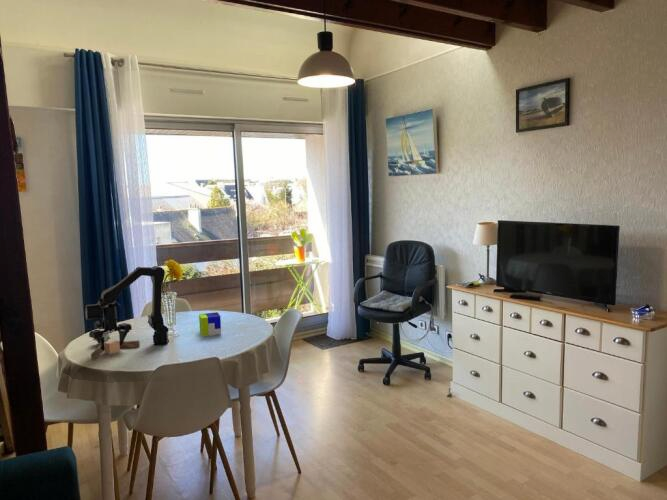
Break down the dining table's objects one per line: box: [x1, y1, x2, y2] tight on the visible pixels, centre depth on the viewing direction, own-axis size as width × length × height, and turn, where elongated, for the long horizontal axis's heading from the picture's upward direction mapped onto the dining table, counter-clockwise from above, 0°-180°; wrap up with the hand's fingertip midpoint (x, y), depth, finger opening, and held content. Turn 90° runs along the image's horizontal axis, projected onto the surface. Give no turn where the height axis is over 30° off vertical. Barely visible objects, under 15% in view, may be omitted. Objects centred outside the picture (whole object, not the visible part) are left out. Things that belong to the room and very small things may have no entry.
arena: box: [90, 340, 141, 361], centre depth 240 cm, size 17×19×3 cm
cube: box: [104, 339, 121, 355], centre depth 242 cm, size 5×5×5 cm
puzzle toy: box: [198, 311, 222, 337], centre depth 272 cm, size 10×10×10 cm
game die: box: [92, 329, 113, 343], centre depth 255 cm, size 9×8×10 cm
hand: (112, 347), depth 242 cm, fingers open, 9 cm apart
